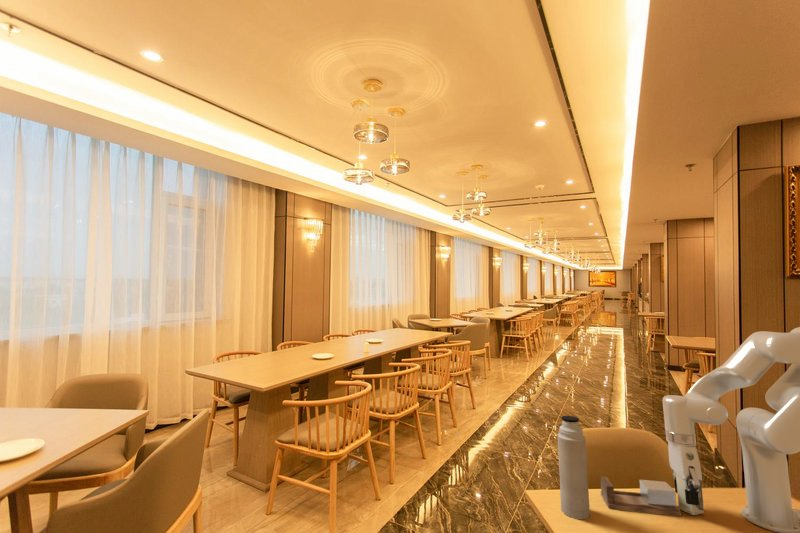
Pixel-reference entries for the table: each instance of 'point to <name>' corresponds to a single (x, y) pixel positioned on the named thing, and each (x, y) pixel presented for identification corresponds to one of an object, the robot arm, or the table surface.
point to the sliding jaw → (657, 493)
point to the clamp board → (631, 501)
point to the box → (682, 500)
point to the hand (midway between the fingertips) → (686, 498)
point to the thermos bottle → (573, 469)
